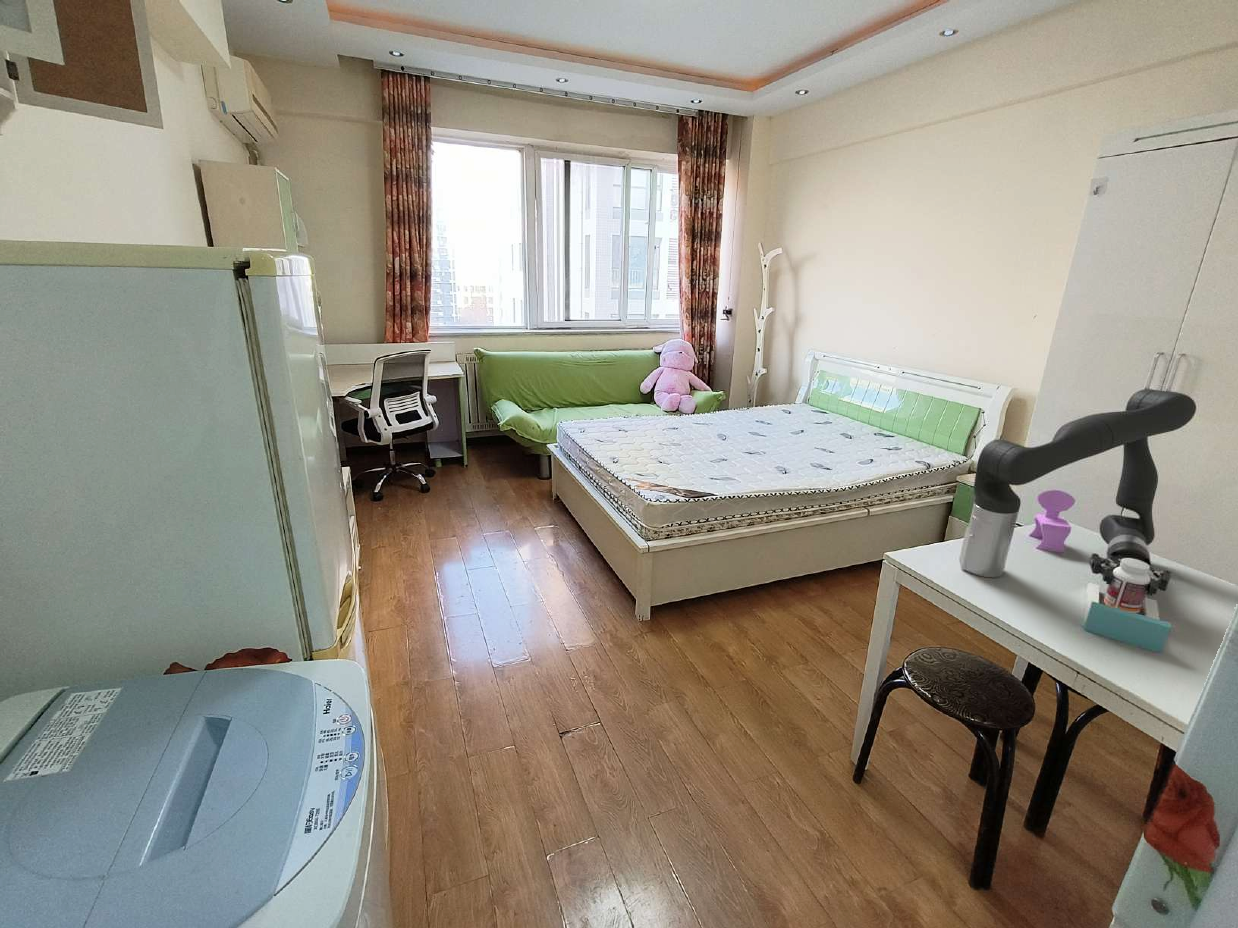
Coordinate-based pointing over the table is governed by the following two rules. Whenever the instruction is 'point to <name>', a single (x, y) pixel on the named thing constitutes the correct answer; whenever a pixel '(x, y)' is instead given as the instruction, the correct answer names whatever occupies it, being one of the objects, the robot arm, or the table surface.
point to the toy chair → (1053, 520)
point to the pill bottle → (1128, 585)
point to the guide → (1125, 622)
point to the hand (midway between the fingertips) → (1130, 585)
